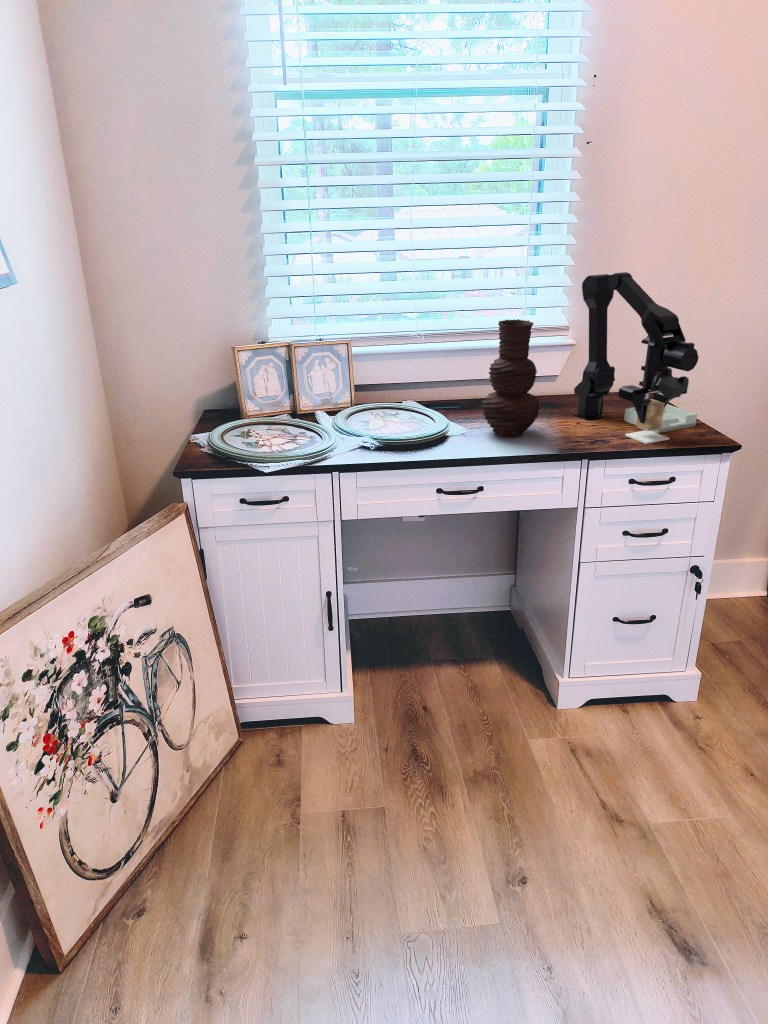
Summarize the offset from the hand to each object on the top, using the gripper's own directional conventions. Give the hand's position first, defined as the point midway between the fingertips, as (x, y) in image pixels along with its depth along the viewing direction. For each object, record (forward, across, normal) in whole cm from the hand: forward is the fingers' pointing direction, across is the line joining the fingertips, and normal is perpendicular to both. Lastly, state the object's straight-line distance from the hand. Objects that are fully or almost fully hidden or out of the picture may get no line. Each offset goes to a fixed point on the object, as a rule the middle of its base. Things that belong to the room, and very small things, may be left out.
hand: (648, 421), depth 201 cm
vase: (+5, -31, +19) cm, 37 cm away
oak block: (+2, 0, 0) cm, 2 cm away
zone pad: (+4, 0, 0) cm, 4 cm away
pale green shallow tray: (+4, +12, +8) cm, 15 cm away
